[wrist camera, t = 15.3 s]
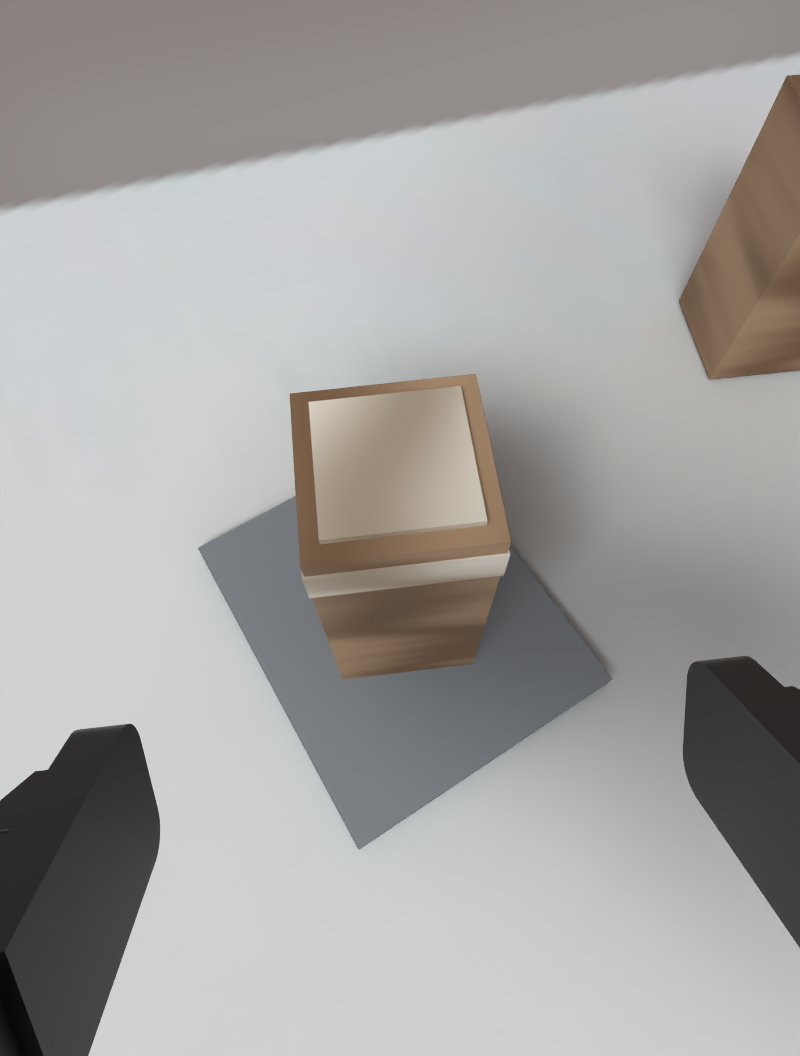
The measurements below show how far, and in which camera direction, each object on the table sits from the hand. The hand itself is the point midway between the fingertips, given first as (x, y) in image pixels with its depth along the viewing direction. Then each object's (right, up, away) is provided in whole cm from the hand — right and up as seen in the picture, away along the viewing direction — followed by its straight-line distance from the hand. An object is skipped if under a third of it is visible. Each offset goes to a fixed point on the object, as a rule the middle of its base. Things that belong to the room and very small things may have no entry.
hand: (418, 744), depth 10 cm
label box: (0, 0, +15) cm, 15 cm away
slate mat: (0, 0, +15) cm, 15 cm away
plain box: (+15, +12, +21) cm, 28 cm away
